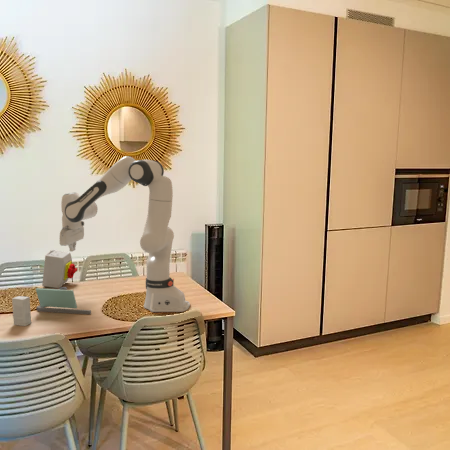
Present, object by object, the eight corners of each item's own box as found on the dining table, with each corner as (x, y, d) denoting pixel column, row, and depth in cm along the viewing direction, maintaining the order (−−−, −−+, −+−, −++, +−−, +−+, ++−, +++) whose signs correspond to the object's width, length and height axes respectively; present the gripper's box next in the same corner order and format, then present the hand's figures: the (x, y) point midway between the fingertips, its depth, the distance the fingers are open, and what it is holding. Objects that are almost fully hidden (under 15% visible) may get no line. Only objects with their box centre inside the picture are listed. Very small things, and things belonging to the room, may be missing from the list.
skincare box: (31, 323, 205) (30, 296, 203) (25, 326, 201) (23, 299, 199) (20, 321, 206) (18, 295, 205) (13, 324, 202) (11, 298, 201)
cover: (73, 290, 214) (72, 291, 213) (77, 307, 219) (76, 308, 218) (36, 288, 216) (35, 289, 215) (41, 305, 221) (40, 306, 220)
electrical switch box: (68, 292, 256) (72, 257, 253) (41, 288, 256) (45, 253, 253) (77, 284, 271) (80, 251, 268) (51, 280, 270) (54, 247, 267)
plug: (69, 301, 234) (68, 287, 233) (65, 304, 230) (65, 289, 229) (61, 301, 235) (61, 286, 233) (58, 303, 231) (57, 289, 230)
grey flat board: (100, 306, 228) (99, 303, 227) (90, 314, 216) (89, 311, 216) (47, 303, 231) (47, 300, 231) (35, 311, 220) (35, 307, 220)
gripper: (67, 227, 226) (68, 255, 229) (85, 221, 246) (86, 247, 249) (55, 227, 227) (56, 255, 229) (74, 221, 247) (75, 246, 249)
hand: (72, 250), depth 239 cm, fingers closed
